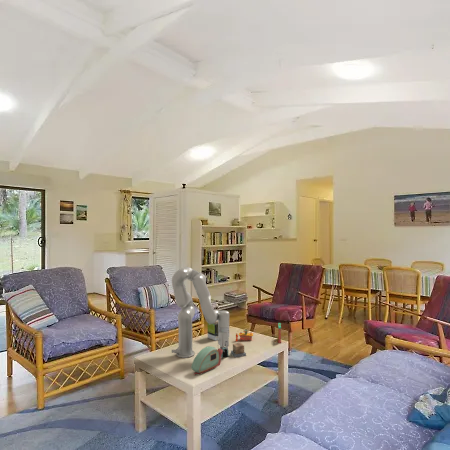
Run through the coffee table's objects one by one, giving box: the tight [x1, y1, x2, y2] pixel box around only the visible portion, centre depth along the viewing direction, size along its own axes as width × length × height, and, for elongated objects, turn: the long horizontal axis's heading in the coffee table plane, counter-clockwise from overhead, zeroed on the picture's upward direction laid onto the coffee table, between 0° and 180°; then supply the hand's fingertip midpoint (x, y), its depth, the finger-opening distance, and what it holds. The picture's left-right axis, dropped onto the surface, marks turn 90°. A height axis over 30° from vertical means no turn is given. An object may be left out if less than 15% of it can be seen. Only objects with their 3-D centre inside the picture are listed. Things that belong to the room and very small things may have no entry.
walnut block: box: [232, 342, 245, 354], centre depth 234 cm, size 6×6×5 cm
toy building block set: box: [235, 322, 282, 344], centre depth 264 cm, size 12×35×14 cm, turn 82°
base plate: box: [230, 349, 247, 358], centre depth 234 cm, size 8×8×2 cm
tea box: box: [206, 320, 230, 341], centre depth 272 cm, size 15×10×15 cm, turn 130°
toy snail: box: [190, 345, 223, 375], centre depth 211 cm, size 25×8×14 cm, turn 138°
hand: (223, 355), depth 232 cm, fingers closed on teal block, 5 cm apart
